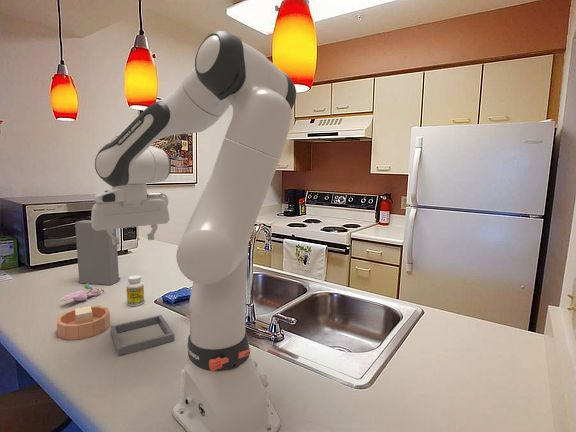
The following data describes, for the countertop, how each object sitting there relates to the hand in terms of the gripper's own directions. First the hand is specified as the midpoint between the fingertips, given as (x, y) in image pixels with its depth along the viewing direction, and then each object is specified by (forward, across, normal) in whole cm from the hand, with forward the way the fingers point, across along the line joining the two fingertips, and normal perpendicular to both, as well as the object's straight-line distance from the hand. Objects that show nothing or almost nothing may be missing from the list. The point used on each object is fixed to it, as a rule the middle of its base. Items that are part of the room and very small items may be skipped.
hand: (134, 241), depth 96 cm
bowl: (+25, +14, -7) cm, 30 cm away
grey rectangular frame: (+26, +1, +7) cm, 27 cm away
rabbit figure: (+25, +12, -31) cm, 42 cm away
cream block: (+24, +14, -7) cm, 29 cm away
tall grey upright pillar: (+25, +5, -48) cm, 54 cm away
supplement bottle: (+26, -2, -18) cm, 32 cm away
